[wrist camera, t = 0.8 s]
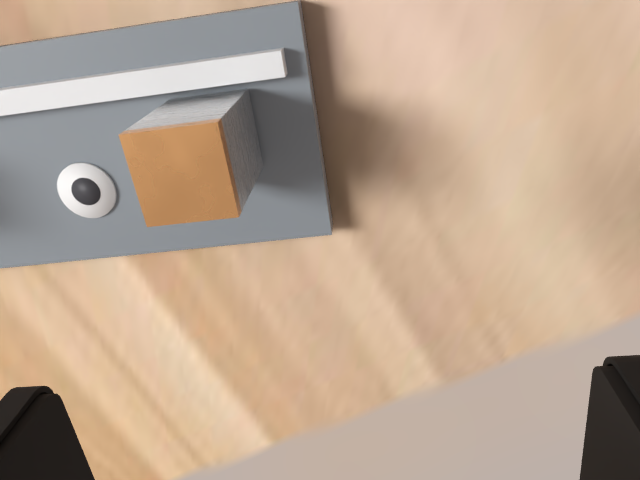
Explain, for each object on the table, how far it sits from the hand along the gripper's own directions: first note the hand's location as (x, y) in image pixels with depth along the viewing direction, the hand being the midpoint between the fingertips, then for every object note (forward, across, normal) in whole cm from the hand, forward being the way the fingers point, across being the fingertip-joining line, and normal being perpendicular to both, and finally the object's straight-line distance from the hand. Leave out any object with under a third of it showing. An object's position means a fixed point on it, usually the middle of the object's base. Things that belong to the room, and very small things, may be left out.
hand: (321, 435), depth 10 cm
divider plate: (+22, +16, 0) cm, 27 cm away
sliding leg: (+20, +6, -1) cm, 21 cm away
